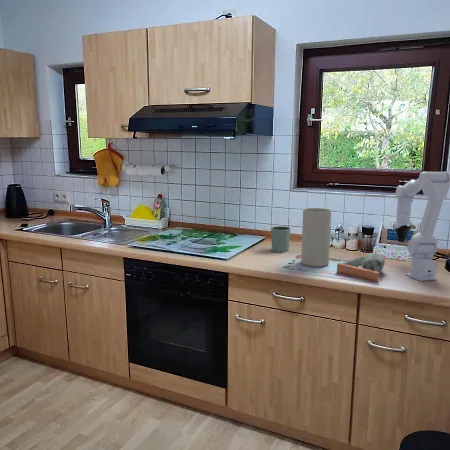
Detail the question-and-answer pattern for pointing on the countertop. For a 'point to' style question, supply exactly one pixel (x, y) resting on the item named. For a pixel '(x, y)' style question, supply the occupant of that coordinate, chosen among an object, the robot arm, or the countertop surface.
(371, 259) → the grey-green rounded piece
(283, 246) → the green cup
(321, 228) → the cylinder vase
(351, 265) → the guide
